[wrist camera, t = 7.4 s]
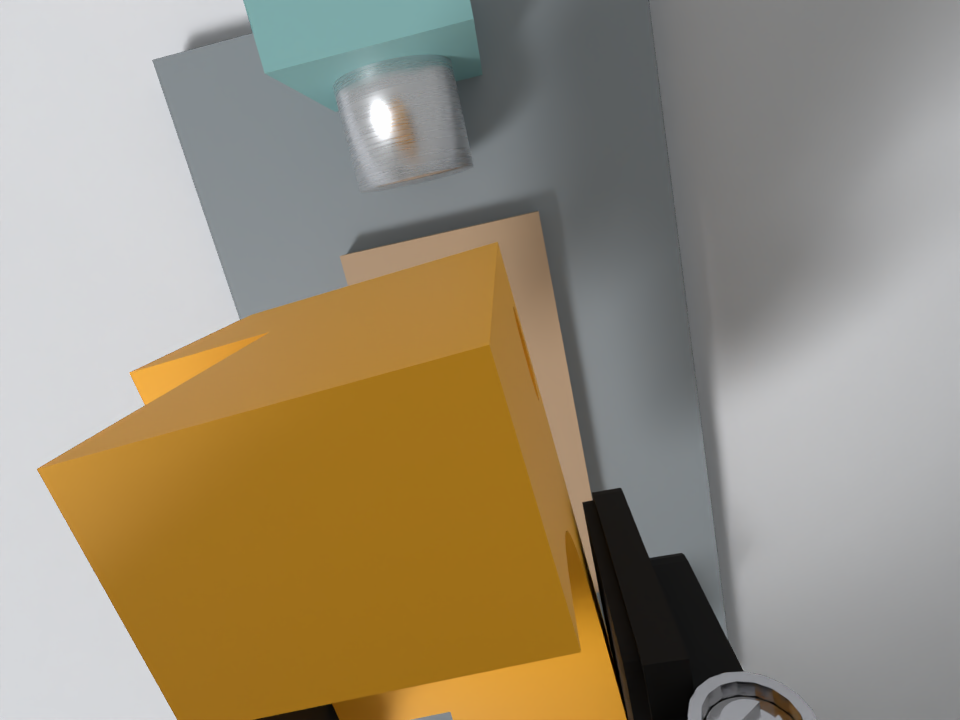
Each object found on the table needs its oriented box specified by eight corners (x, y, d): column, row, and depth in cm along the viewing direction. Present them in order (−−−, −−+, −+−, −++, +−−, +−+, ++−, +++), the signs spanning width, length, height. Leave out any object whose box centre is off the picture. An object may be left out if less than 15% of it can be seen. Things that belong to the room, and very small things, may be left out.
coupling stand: (723, 676, 23) (803, 846, 17) (390, 723, 24) (353, 896, 18) (629, -52, 16) (705, -205, 10) (175, 69, 17) (3, -2, 11)
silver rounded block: (476, 169, 16) (470, 162, 13) (374, 193, 16) (346, 191, 13) (439, -8, 15) (423, -60, 12) (330, 22, 15) (289, -22, 12)
